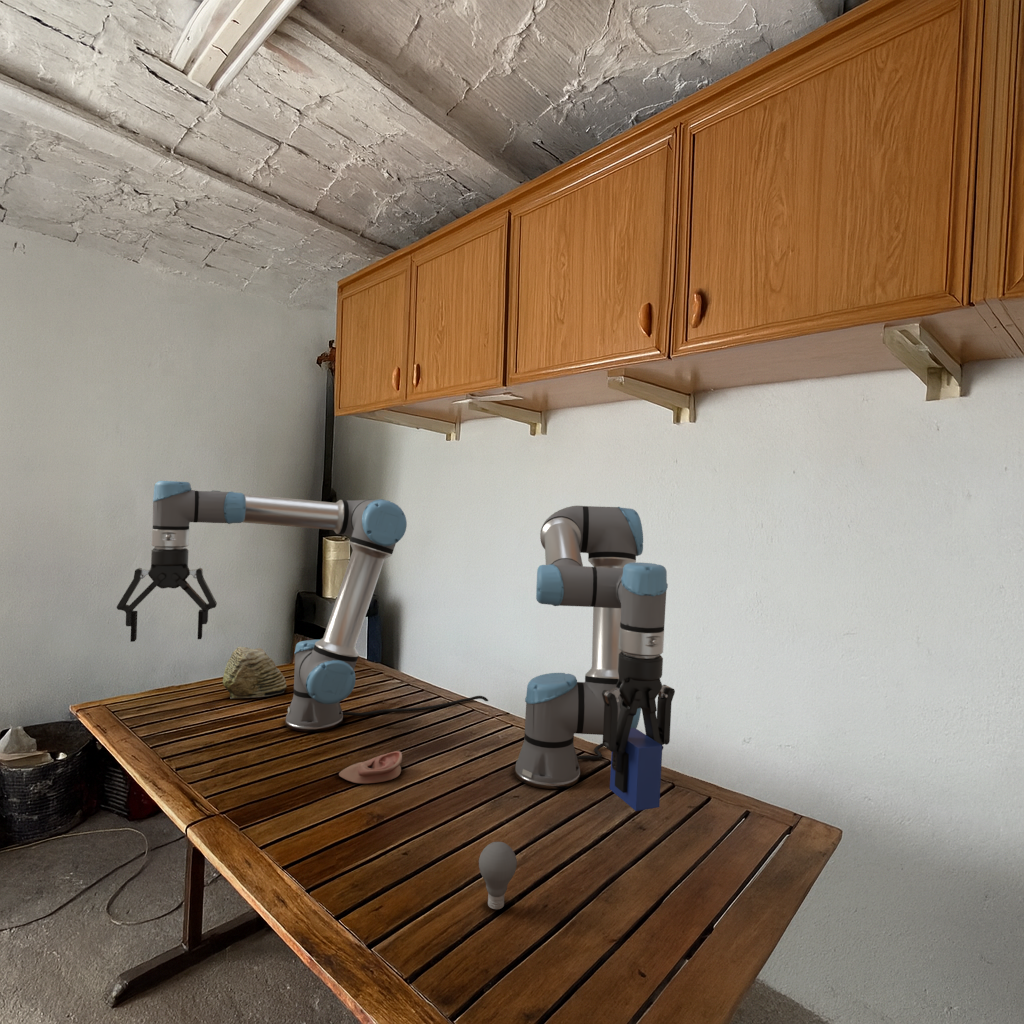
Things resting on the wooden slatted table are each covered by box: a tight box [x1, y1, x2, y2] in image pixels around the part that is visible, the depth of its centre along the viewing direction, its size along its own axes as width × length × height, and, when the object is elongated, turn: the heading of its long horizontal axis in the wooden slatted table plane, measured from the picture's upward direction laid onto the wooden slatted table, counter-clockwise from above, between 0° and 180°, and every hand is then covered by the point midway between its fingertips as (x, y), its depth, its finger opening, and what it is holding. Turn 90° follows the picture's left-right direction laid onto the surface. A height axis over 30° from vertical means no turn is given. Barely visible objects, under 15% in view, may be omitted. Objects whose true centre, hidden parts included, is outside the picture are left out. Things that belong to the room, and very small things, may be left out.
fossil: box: [222, 646, 288, 699], centre depth 198 cm, size 9×18×15 cm, turn 132°
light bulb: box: [478, 841, 518, 910], centre depth 100 cm, size 6×6×10 cm
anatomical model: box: [338, 750, 403, 784], centre depth 146 cm, size 13×4×12 cm
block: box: [609, 728, 663, 812], centre depth 110 cm, size 8×5×11 cm, turn 22°
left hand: (167, 639), depth 147 cm, fingers open, 13 cm apart
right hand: (634, 786), depth 110 cm, fingers closed on block, 5 cm apart
